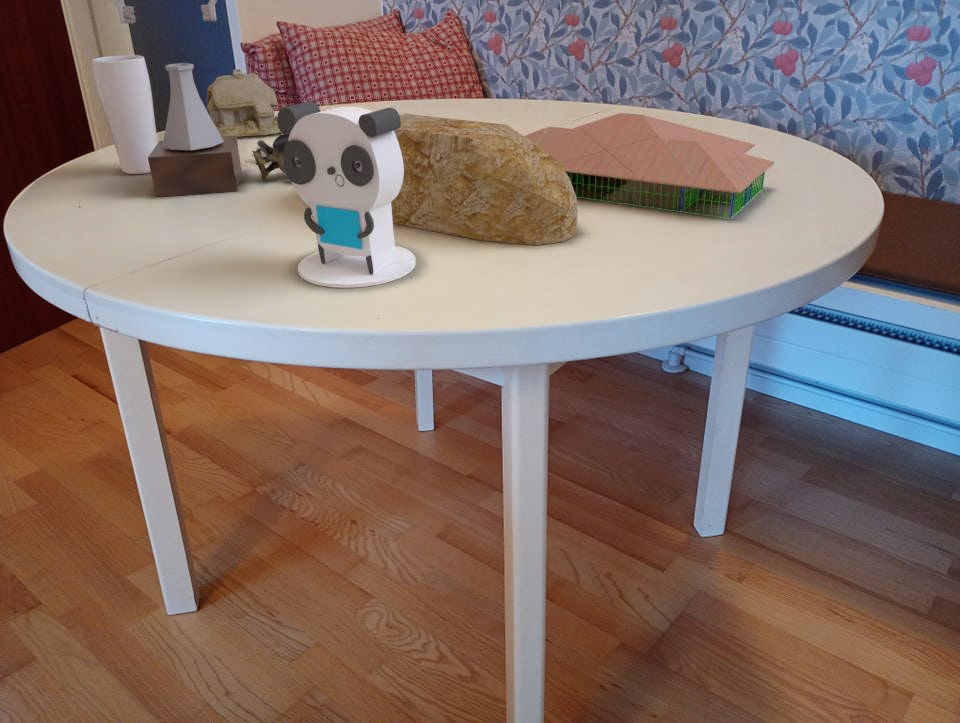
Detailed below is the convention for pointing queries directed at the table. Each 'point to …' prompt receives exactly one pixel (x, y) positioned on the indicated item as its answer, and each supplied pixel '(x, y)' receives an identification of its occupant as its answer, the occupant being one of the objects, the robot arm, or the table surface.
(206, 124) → the flask
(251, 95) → the ceramic model
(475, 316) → the table surface
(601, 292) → the table surface
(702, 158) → the house
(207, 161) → the walnut block
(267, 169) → the eagle figurine
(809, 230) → the table surface
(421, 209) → the brown rock
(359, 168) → the panda figurine
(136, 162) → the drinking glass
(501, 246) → the table surface
